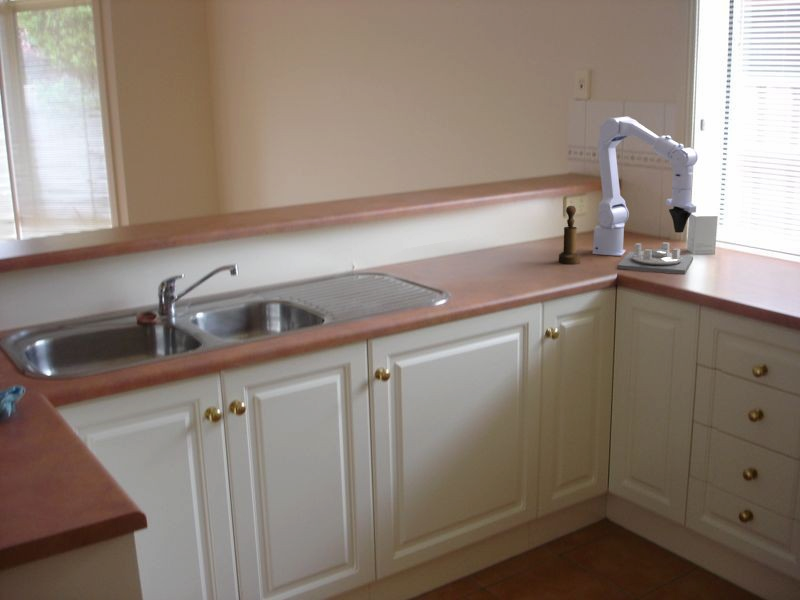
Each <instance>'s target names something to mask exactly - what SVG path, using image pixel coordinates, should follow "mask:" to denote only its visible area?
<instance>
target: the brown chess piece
mask: <svg viewBox="0 0 800 600" xmlns="http://www.w3.org/2000/svg"><path fill="white" fill-rule="evenodd" d="M565 212H566V214H567V216H568V219H566V222H567V223H566V224H567V226H564V228H563V251H562V252H561V253H559V254H558V263H560V264H563V265H564V264H565V265H577V264H579V263H581V254H579V252H577V232H578V231H577V229H578V228H577V227H576V226H574V224H575V219H574V215H576V212H577V208H576V207H575V205H568V206H567V207H566V209H565Z"/></svg>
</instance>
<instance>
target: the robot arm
mask: <svg viewBox="0 0 800 600" xmlns="http://www.w3.org/2000/svg"><path fill="white" fill-rule="evenodd" d="M599 132H600V133H599V137H598V140H597V152H598V160H599V162H598V163H599V173H600V181H601V191H602V199H601V201H600V202H599V204H598V212H597V215H596V216H597V219H596V220H597V221H598V223H599V224H598V225H595V227H594V229H593V230H594V231H593V239H592V242H593V243H592V254H593V255H600V256H601V255H603V256H613V257H614V256H615V257H616V256H617V257H622V256H623V255H624V254H625V253H626V251H627V250H626V249H624V235H625V234H624V231H625V226H626V222H627V221H628V220H629V217H630V212H629V209H628V208H627V204H626V200H625V199H624V198H623V197H622V196H621V189H620V181H619V171H618V163H617V162H618V161H617V151H616V148H617V146H618V145H619V144H620V143H621V141H622V140H625V138H627V137H634V138H636V139H638V140H640V141H642V142H644V143H646V144H648V145H649V146H652V149H653V152H654V153H655V154H657V155H658V156H661V157H662V158H664V159H665V160H667V161H669V162H670V165H671V166H672V172H673V173H672V185H671V198H667V199H666V201H665V205H666V206H670V207H673V208H669V209H668V213H669V214H670V216H671V219H672V223H673V229H674V232H675V233H684V230H685V228H686V224H687V222H688V221H689V216H690V215H691V213H696V212H697V205H694V204H693V203H692V192H693V191H692V188H693V177H694V176H693V174H694V165H696V164H697V161H698V158H699V157H698V153H697V151H696V149H694V148H693V147H691V146H689V147H688V146H687V147H684V144H683V143H679V142H676V140H675V141H674V140H673V139H672V137H671V135H660V136H658V135H657V134H655V133H654V132H653V131H651V130H650V129H648V128H646V127H645V126H644V125H642V124H640V123H639V122H638V121H637V120H636V119H634V118H631V117H630V116H627V115H625V116H620V117H608V118H606V119H605V120H604V121H602V123H601V124H600V125H599Z"/></svg>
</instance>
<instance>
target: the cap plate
mask: <svg viewBox="0 0 800 600" xmlns="http://www.w3.org/2000/svg"><path fill="white" fill-rule="evenodd" d="M633 253H634V251H628V253H627V254H626V255H625V256H624V258H622V259H621V261H620V262H619V263H618V264H617V269H618V270H627V271H628V270H629V271H638V270H641V271H640V272H651V271H655V272H654V273H663V272H665V273H666V274H676V273H679V274H678V275H686V274H685V273H687V271H688V270H689V267H690V266H691V264H692V263H693V261H694V255H682V254H680V255H681V257H682V258H681V262H680V263H678V264H673V265H648V264H642V263H638V262H635V261H633V260H632V254H633ZM665 273H664V274H665Z"/></svg>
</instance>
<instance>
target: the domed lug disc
mask: <svg viewBox="0 0 800 600" xmlns="http://www.w3.org/2000/svg"><path fill="white" fill-rule="evenodd" d="M670 247H671V242H666V241H664V242H661V248H648V249H647V248H646V249H643V243H642V242H641V243H640V242H636V243H634V246H633V252H634V253H633V254H632V260H633V261H635V262H638V263H642V264H648V265H673V264H678V263H680V262H681V258H682V257H681V255H682V254H681V249H680V248H676V247H675V248H672V252H670V251H671V250H670V249H671V248H670Z"/></svg>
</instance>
